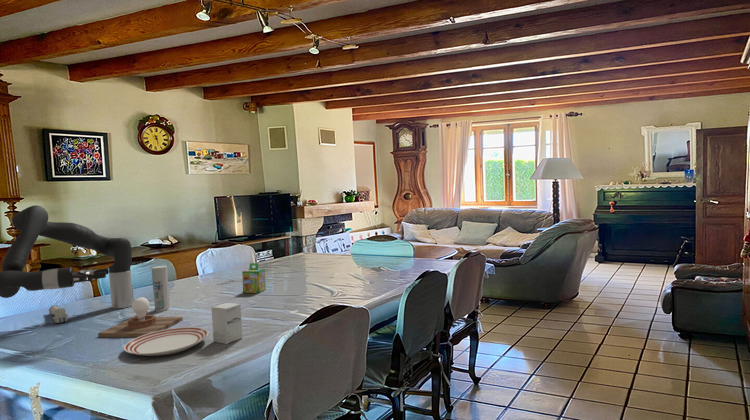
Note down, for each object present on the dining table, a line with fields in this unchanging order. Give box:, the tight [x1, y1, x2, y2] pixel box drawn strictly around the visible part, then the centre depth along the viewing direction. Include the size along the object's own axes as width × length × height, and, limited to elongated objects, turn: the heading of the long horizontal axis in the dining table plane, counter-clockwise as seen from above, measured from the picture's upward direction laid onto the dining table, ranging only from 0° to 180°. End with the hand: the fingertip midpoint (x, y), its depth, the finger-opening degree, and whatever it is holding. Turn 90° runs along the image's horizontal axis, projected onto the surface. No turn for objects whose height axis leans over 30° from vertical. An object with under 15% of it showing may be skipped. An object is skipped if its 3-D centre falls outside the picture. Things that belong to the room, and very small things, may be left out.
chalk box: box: [241, 262, 267, 294], centre depth 254 cm, size 9×9×15 cm
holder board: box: [97, 314, 183, 338], centre depth 194 cm, size 22×22×4 cm
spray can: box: [151, 265, 171, 312], centre depth 224 cm, size 6×6×20 cm
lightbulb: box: [131, 296, 150, 321], centre depth 194 cm, size 6×6×11 cm
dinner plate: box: [123, 326, 210, 357], centre depth 169 cm, size 27×27×3 cm
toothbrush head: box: [48, 304, 69, 324], centre depth 218 cm, size 5×7×25 cm
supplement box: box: [211, 302, 243, 345], centre depth 173 cm, size 7×7×13 cm
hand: (107, 272), depth 189 cm, fingers open, 8 cm apart
